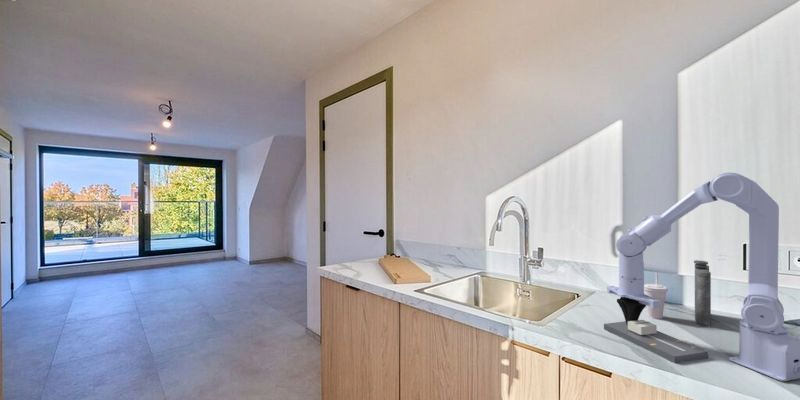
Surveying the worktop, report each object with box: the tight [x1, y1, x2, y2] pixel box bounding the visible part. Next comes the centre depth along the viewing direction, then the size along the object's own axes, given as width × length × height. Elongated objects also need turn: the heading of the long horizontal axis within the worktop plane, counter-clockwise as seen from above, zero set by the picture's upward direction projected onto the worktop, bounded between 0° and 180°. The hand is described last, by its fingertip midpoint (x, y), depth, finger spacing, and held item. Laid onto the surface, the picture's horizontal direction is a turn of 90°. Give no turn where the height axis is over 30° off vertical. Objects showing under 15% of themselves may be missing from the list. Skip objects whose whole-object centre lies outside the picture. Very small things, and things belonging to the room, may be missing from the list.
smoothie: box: [644, 272, 668, 320], centre depth 105 cm, size 6×6×14 cm
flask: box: [693, 259, 712, 328], centre depth 102 cm, size 4×14×18 cm, turn 139°
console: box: [603, 321, 709, 364], centre depth 87 cm, size 20×10×2 cm, turn 12°
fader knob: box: [628, 319, 658, 335], centre depth 90 cm, size 4×5×2 cm
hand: (631, 325), depth 93 cm, fingers closed
